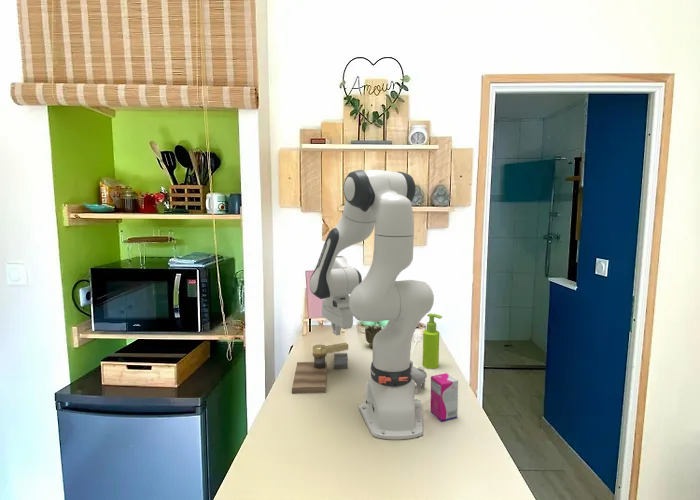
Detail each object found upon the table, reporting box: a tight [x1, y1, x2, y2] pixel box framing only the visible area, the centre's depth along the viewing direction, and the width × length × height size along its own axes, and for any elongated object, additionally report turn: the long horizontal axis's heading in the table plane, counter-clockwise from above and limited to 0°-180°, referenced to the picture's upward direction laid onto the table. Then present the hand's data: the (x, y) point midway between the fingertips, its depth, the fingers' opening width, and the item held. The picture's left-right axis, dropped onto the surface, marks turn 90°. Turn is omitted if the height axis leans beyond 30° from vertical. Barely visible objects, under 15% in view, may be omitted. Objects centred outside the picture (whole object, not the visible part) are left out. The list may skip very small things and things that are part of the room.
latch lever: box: [312, 342, 349, 358], centre depth 147 cm, size 14×5×3 cm, turn 116°
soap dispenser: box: [422, 313, 443, 370], centre depth 150 cm, size 6×7×20 cm
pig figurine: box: [410, 359, 427, 394], centre depth 134 cm, size 5×13×11 cm, turn 55°
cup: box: [364, 325, 383, 349], centre depth 169 cm, size 8×7×8 cm
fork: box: [410, 333, 422, 354], centre depth 173 cm, size 3×20×2 cm, turn 162°
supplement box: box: [430, 372, 459, 423], centre depth 116 cm, size 6×6×12 cm
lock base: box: [291, 352, 349, 394], centre depth 141 cm, size 23×19×6 cm
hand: (336, 334), depth 153 cm, fingers closed
